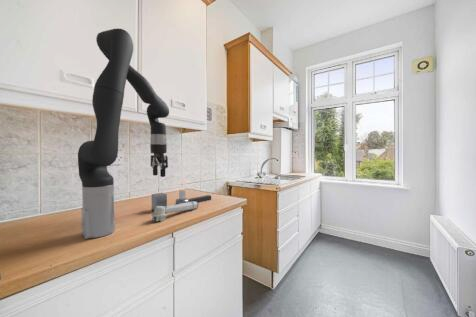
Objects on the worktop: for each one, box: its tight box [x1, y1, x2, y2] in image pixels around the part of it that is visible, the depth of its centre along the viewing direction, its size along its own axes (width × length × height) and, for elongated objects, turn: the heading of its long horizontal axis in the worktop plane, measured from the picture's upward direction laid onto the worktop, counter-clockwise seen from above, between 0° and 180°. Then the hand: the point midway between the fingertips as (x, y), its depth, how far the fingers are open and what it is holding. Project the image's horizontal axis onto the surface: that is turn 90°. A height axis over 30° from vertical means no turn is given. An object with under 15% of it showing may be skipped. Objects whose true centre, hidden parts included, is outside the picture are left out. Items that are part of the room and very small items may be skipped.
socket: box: [151, 192, 168, 212], centre depth 101 cm, size 5×5×8 cm
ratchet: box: [175, 189, 212, 205], centre depth 116 cm, size 22×7×8 cm, turn 136°
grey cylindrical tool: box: [151, 201, 199, 222], centre depth 93 cm, size 5×7×25 cm
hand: (159, 176), depth 100 cm, fingers open, 8 cm apart
